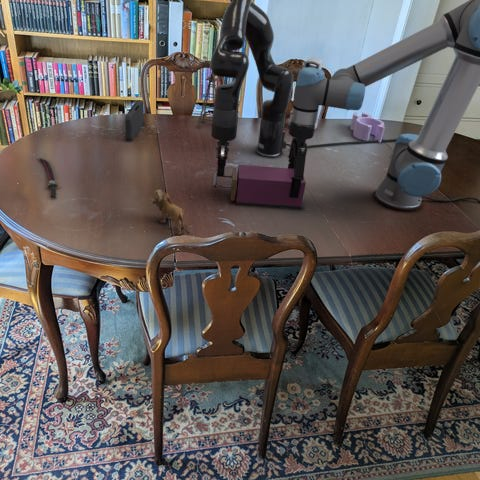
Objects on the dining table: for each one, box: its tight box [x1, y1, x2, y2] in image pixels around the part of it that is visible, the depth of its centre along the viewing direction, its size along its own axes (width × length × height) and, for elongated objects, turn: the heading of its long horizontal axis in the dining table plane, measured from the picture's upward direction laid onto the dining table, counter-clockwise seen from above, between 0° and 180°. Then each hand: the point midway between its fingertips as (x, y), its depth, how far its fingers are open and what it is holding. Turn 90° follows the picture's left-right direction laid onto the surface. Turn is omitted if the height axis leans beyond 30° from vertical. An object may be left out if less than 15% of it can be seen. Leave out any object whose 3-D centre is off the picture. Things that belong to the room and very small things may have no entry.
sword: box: [40, 158, 59, 198], centre depth 151 cm, size 31×3×1 cm, turn 26°
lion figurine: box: [149, 189, 191, 236], centre depth 131 cm, size 15×5×9 cm, turn 50°
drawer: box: [212, 167, 237, 202], centre depth 150 cm, size 26×9×7 cm, turn 91°
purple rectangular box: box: [235, 164, 307, 210], centre depth 150 cm, size 21×10×9 cm, turn 91°
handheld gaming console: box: [124, 99, 145, 141], centre depth 189 cm, size 23×3×10 cm, turn 178°
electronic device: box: [287, 57, 324, 130], centre depth 207 cm, size 12×8×30 cm, turn 71°
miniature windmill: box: [197, 61, 220, 128], centre depth 198 cm, size 9×8×30 cm
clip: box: [349, 111, 386, 143], centre depth 214 cm, size 20×12×7 cm, turn 11°
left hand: (220, 175), depth 148 cm, fingers closed
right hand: (291, 189), depth 151 cm, fingers closed on purple rectangular box, 10 cm apart
